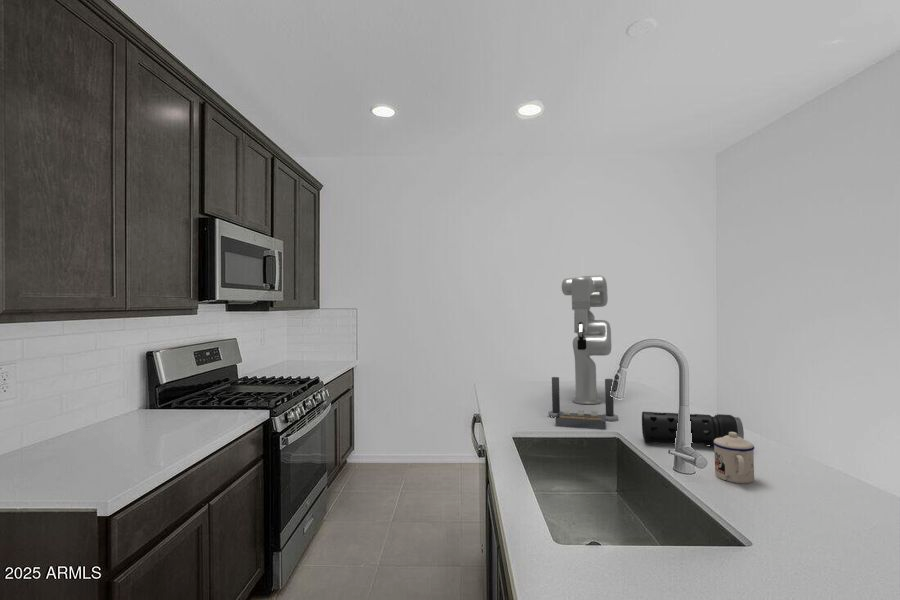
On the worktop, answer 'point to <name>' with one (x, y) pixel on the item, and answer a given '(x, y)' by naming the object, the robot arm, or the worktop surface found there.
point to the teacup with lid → (734, 459)
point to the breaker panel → (581, 420)
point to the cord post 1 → (555, 397)
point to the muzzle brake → (702, 427)
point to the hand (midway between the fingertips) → (582, 348)
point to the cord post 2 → (609, 402)
